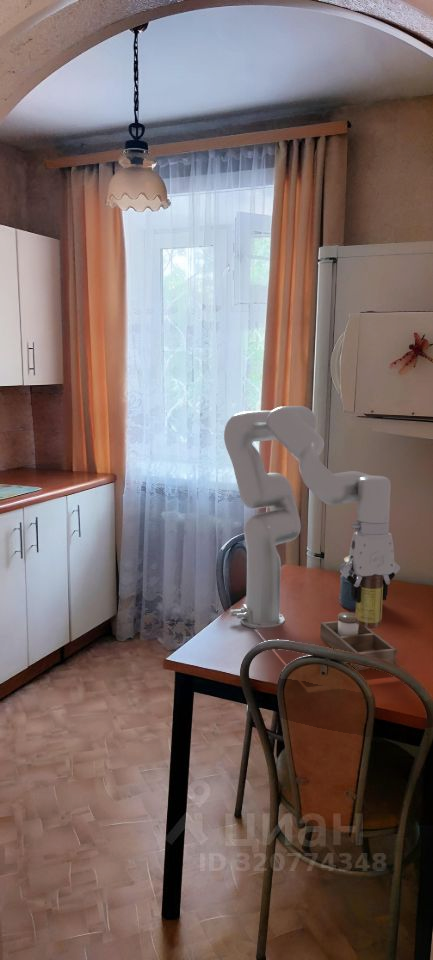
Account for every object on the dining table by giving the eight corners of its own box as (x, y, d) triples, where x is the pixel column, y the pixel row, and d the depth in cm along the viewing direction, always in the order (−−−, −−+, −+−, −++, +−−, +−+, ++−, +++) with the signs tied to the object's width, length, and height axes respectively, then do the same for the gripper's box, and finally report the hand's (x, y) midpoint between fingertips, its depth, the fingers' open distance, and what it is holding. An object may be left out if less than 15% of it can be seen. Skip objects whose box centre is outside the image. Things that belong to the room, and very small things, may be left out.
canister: (389, 604, 204) (393, 549, 201) (368, 615, 194) (372, 557, 191) (352, 595, 212) (355, 541, 209) (330, 605, 203) (333, 549, 200)
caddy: (355, 673, 157) (356, 654, 156) (320, 639, 176) (320, 622, 175) (395, 668, 160) (396, 649, 159) (356, 636, 179) (357, 619, 178)
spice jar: (342, 648, 169) (343, 620, 168) (333, 639, 174) (334, 613, 173) (361, 645, 171) (363, 618, 169) (352, 637, 176) (353, 611, 174)
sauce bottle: (363, 618, 166) (368, 541, 163) (386, 625, 162) (390, 546, 159) (349, 624, 161) (353, 545, 158) (371, 632, 157) (376, 550, 154)
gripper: (346, 533, 152) (343, 608, 155) (413, 529, 156) (408, 602, 159) (332, 526, 159) (329, 597, 162) (396, 522, 164) (392, 592, 166)
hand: (369, 599), depth 160 cm, fingers closed on sauce bottle, 6 cm apart
